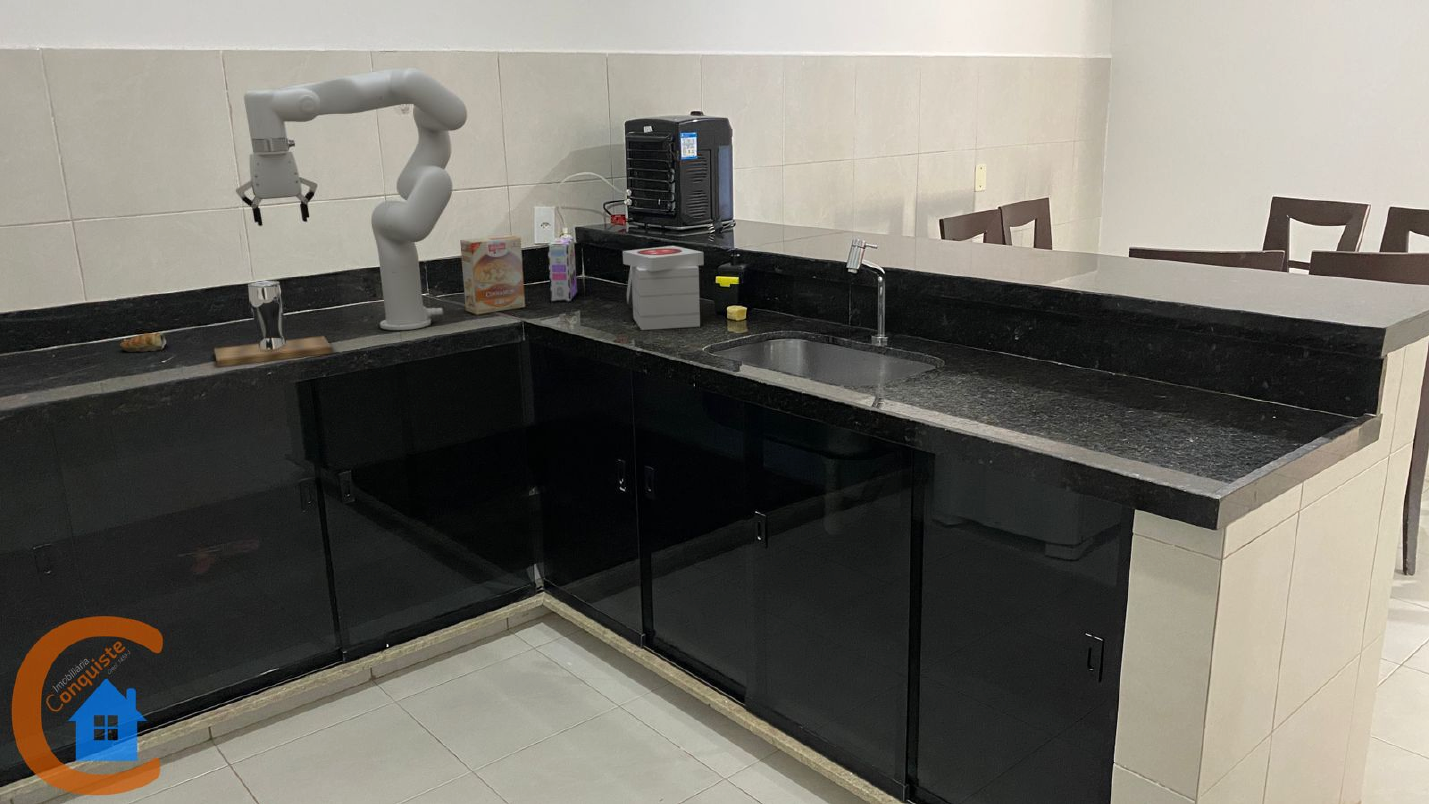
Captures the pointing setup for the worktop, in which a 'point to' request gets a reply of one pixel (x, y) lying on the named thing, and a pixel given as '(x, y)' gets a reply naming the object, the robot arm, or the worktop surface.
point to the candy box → (562, 269)
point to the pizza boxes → (664, 286)
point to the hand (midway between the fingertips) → (282, 223)
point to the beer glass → (268, 314)
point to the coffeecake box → (492, 274)
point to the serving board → (253, 354)
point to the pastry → (144, 342)
